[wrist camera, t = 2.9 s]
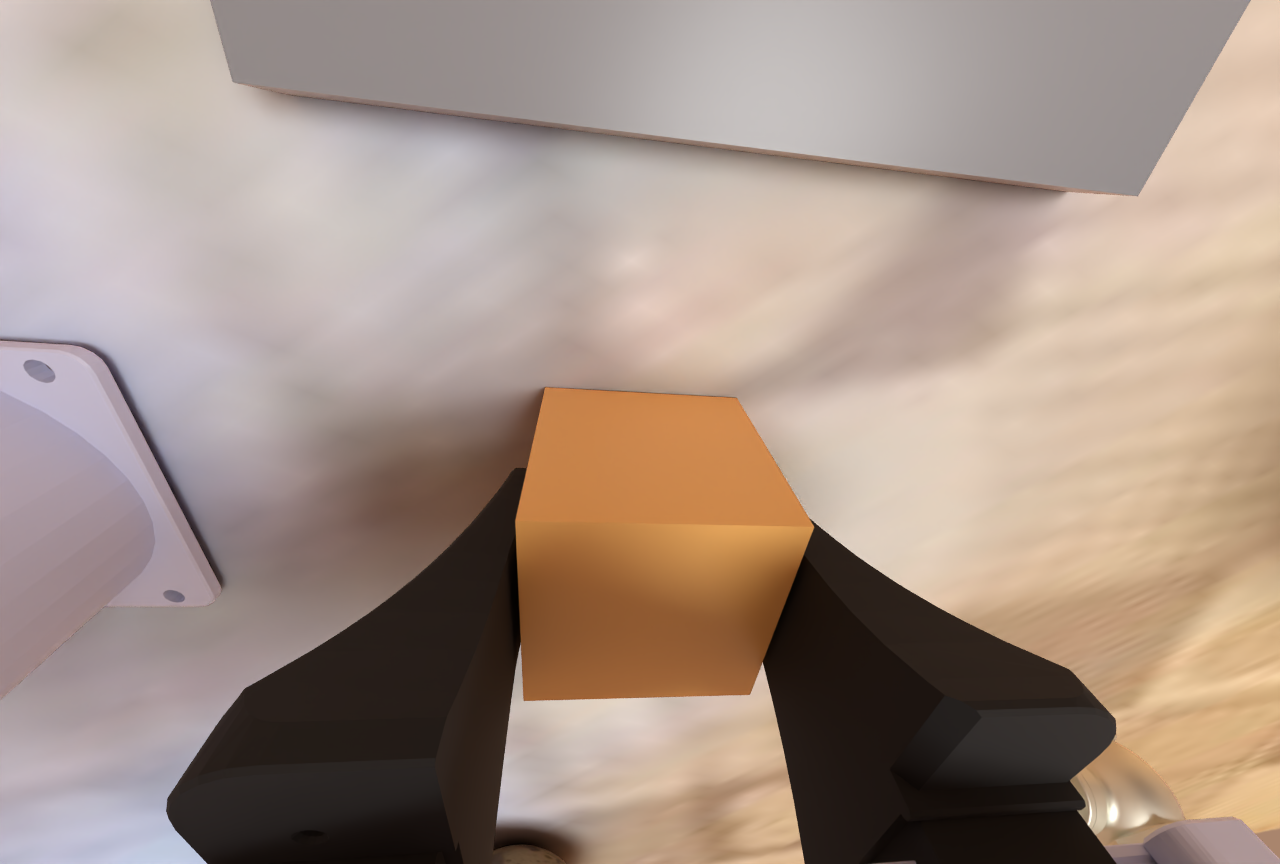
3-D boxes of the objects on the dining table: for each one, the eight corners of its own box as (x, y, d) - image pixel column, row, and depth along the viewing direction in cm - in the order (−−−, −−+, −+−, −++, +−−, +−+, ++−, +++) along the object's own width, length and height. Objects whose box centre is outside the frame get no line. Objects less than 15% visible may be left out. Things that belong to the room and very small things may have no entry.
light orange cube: (545, 535, 14) (523, 700, 10) (545, 387, 12) (515, 520, 7) (704, 538, 15) (749, 694, 10) (736, 398, 12) (814, 526, 8)
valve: (1128, 683, 22) (928, 652, 19) (1312, 863, 16) (1067, 857, 14) (1030, 752, 25) (846, 734, 22) (1158, 925, 19) (931, 929, 17)
